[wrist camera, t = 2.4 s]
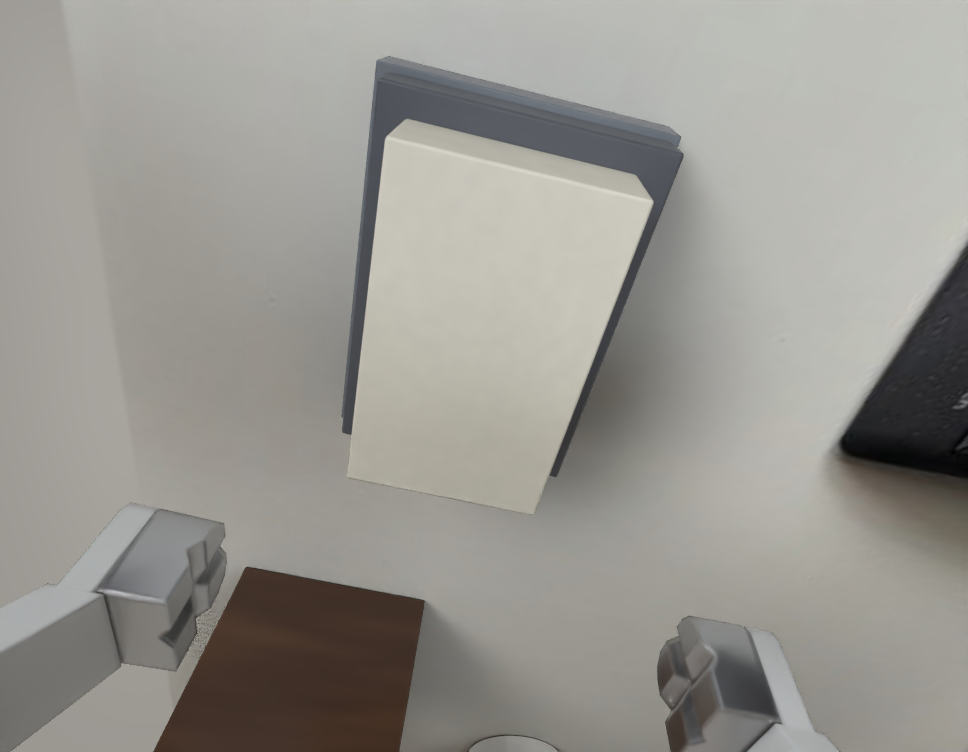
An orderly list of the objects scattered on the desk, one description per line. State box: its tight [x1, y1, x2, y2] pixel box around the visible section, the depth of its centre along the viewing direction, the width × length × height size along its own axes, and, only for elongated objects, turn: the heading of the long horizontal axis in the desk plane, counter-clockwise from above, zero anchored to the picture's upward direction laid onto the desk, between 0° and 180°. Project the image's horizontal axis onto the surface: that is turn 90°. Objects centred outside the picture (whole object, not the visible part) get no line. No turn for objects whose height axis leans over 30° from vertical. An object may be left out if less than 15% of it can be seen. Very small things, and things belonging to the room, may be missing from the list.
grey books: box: [342, 56, 683, 477], centre depth 20 cm, size 13×9×3 cm
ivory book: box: [347, 119, 654, 515], centre depth 17 cm, size 11×6×3 cm, turn 168°
